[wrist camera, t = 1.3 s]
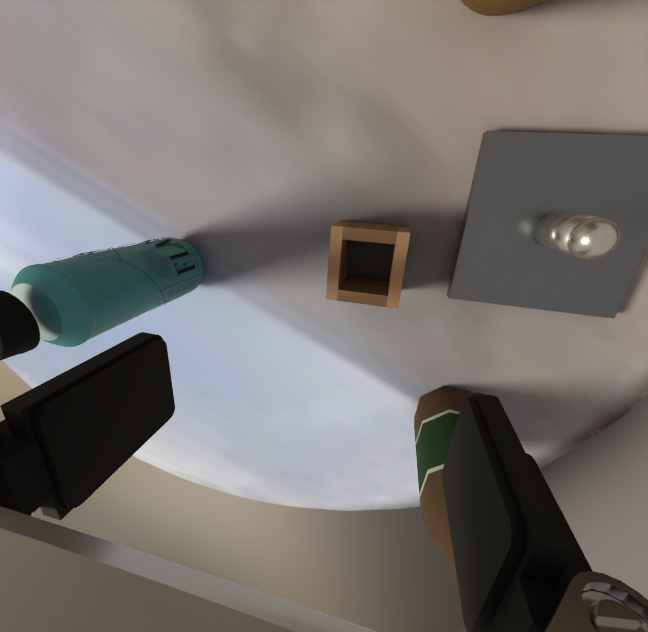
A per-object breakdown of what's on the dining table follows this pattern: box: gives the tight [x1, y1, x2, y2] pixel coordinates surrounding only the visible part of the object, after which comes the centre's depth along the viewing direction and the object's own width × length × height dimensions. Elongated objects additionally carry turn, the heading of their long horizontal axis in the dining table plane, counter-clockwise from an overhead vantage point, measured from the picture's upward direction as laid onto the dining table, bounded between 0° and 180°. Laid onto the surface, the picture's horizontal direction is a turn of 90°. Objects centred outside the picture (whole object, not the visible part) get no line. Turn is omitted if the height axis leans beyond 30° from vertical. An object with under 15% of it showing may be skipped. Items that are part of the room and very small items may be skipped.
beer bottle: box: [414, 386, 472, 600], centre depth 25 cm, size 8×8×24 cm
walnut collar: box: [326, 220, 410, 308], centre depth 28 cm, size 6×6×6 cm
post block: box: [447, 131, 648, 318], centre depth 23 cm, size 14×14×8 cm
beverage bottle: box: [0, 237, 203, 360], centre depth 27 cm, size 6×7×20 cm
